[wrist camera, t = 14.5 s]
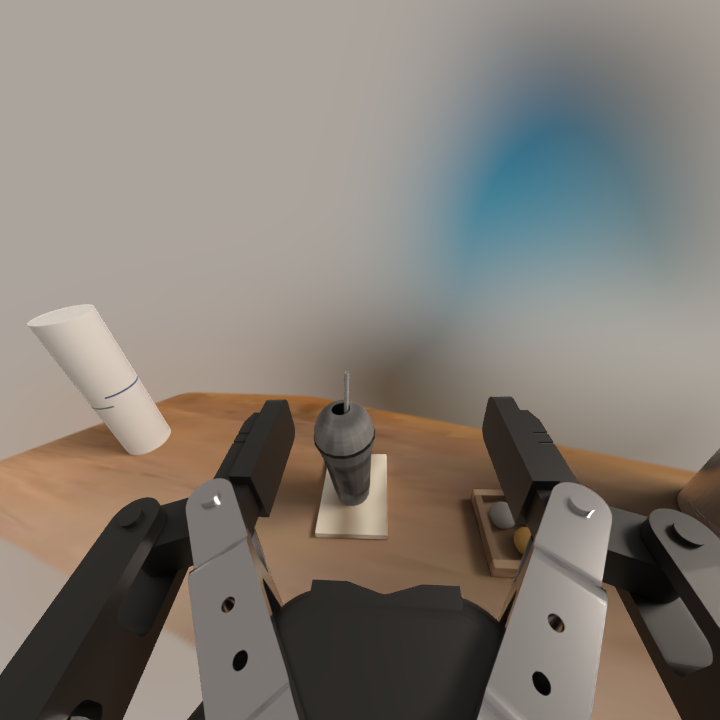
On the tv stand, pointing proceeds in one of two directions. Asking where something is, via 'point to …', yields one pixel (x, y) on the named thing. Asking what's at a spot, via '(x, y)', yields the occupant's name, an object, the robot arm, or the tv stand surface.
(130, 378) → the cylindrical container
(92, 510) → the tv stand surface
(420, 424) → the tv stand surface
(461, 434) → the tv stand surface
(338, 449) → the beverage cup
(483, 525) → the marble tray
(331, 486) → the ash board
